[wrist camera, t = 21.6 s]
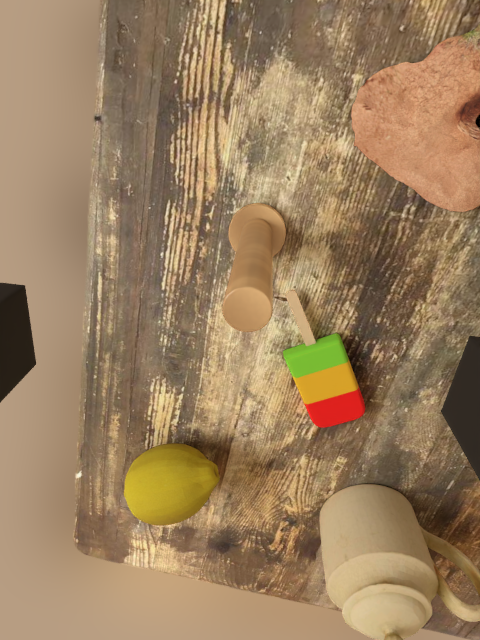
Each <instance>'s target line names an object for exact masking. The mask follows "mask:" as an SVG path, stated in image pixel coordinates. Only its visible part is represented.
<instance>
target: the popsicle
mask: <svg viewBox="0 0 480 640" xmlns="http://www.w3.org/2000/svg"><path fill="white" fill-rule="evenodd" d="M286 298H287V300H288V303H289V305H290V308H291V310H292V313H293V315H294V318H295V320H296V323H297V325H298V328H299V330H300V332H301V335H302V337H303V340H304V342H305V343H304V344H301V345H298V346H295V347H292V348H289V349H286V350H284V351H283V355H284V358H285V360H286V363H287V365H288V367H289V370H290V372H291V374H292V377H293V379H294V381H295V383H296V386H297V388H298V390H299V393H300V395H301V397H302V400H303V402H304V404H305V406H306V409H307V411H308V413H309V416H310V418H311V420H312V421H313V423H314V424H315V425H316V426H318V427H330V426H334V425H337V424H341V423H345V422H348V421H352V420H355V419H358V418H360V417H361V416H362V415H363V414H364V412H365V404H364V400H363V397H362V394H361V391H360V389H359V386H358V383H357V380H356V378H355V375H354V372H353V369H352V367H351V364H350V361H349V358H348V356H347V353H346V350H345V347H344V345H343V342H342V339H341V337H340V335H339V334H337V333H335V334H332V335H329V336H326V337H323V338H320V339H317V340H315V338H314V336H313V333H312V331H311V328H310V326H309V323H308V320H307V318H306V315H305V313H304V310H303V308H302V305H301V303H300V300H299V298H298V295H297V293H296V291H295V290H289V291H287V292H286Z"/></svg>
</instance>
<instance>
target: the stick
mask: <svg viewBox="0 0 480 640" xmlns="http://www.w3.org/2000/svg"><path fill="white" fill-rule="evenodd" d="M228 234H229V241H230V244H231V246H232V247H233V249H234V250H235V252H236V255H235V259H234V263H233V266H232V270H231V274H230V278H229V282H228V286H227V289H226V293H225V297H224V301H223V305H222V312H223V316H224V318H225V320H226V321H227V323H228V324H229V325H230V326H232V327H233V328H235V329H237V330H239V331H243V332H253V331H257V330H259V329H261V328H263V327H264V326H265V325H266V324H267V323H268V322H269V320H270V319H271V316H272V311H273V256H275V255H276V254H277V253H278V252H279V251H280V250H281V248H282V246H283V244H284V242H285V238H286V228H285V223H284V220H283V218H282V216H281V215H280V214H279V212H278V211H277V210H275V209H274V208H273V207H271V206H269V205H266V204H262V203H253V204H249V205H246V206H244V207H242V208H241V209H240V210H238V211H237V212H236V213H235V215H234V216H233V218H232V220H231V223H230V225H229V232H228Z"/></svg>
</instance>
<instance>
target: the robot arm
mask: <svg viewBox="0 0 480 640" xmlns="http://www.w3.org/2000/svg"><path fill="white" fill-rule="evenodd" d="M35 365H36V360H35V353H34V346H33V338H32V331H31V324H30V317H29V310H28V303H27V296H26V289H25V286H24V285H16V284H7V283H0V402H1V401H2V400H3V399H4V398H5V397H6V396H7V395H8V393H10V391H11V390H12V389H13V388H14V387H15V386H16V385H17V384H18V383H19V382H20V381H21V380H22V379H23V378H24V376H25V375H26V374H27V373H28V372H29V371H30V370H31V369H32V368H33V367H34V366H35ZM441 412H442V414H443V416H444V418H445V419H446V421H447V423H448V425H449V427H450V428H451V430H452V432H453V434H454V435H455V437H456V439H457V441H458V443H459V444H460V446H461V448H462V450H463V452H464V453H465V455H466V457H467V459H468V460H469V462H470V464H471V466H472V468H473V469H474V471H475V473H476V475H477V476H478V478H479V480H480V337H475V336H470V337H469V339H468V342H467V344H466V347H465V350H464V352H463V355H462V358H461V360H460V363H459V366H458V368H457V371H456V373H455V376H454V379H453V381H452V384H451V387H450V389H449V392H448V395H447V397H446V400H445V402H444V405H443V408H442V410H441Z"/></svg>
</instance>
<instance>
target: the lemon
mask: <svg viewBox="0 0 480 640" xmlns="http://www.w3.org/2000/svg"><path fill="white" fill-rule="evenodd" d="M219 480H220V477H219V474H218V467H217V465H216V464H215V463H213V462H212V461H210V460H208V459H207V458H206V457H205V456H204V455H203V454H202V453H201V452H200V451H199V450H197V449H195V448H193V447H191V446H189V445H186V444H179V443H169V444H163V445H159V446H156V447H153V448H151V449H149V450H147V451H145V452H144V453H142V454H141V455H140V456H139V457H137V458H136V459H135V460H134V462H133V463H132V465H131V467H130V469H129V471H128V473H127V475H126V479H125V491H124V496H125V498H126V501H127V504H128V506H129V508H130V510H131V512H132V513H133V515H134V516H135V517H137V518H138V519H139V520H141V521H143V522H145V523H148V524H152V525H170V524H175V523H178V522H181V521H184V520H186V519H188V518H190V517H191V516H193V515H194V514H195V513H197V512H198V511H199V510H200V509H201V508H202V507H203V505H204V504H205V503H206V501H207V500H208V499H209V497H210V495H211V493H212V491H213V490H214V488H215V487H216V486H217V484H218V482H219Z"/></svg>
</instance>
